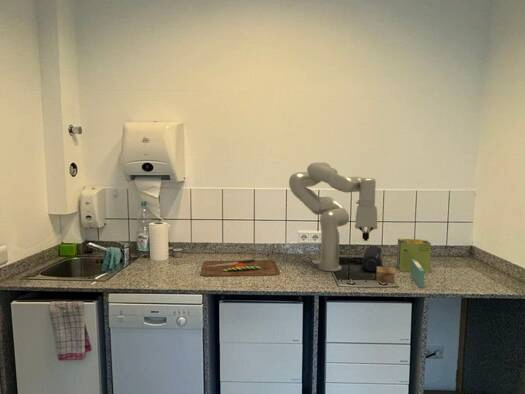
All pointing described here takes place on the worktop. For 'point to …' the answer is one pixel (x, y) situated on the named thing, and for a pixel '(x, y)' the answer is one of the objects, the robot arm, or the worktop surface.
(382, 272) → the brown rectangular box
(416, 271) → the teal board
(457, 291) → the worktop surface
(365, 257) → the portable speaker
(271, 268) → the chopping board
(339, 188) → the robot arm
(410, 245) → the protein box
